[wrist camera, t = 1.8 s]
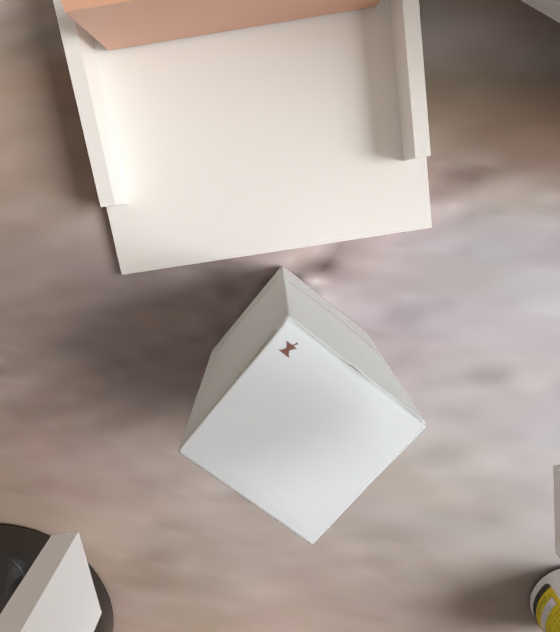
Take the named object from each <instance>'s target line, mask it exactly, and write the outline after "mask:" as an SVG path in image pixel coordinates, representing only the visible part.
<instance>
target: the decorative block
mask: <svg viewBox="0 0 560 632" xmlns="http://www.w3.org/2000/svg"><path fill="white" fill-rule="evenodd" d="M521 1H522V2H524V3H526V4H527V5H529V6H531V7H533V8H534V9H536V10H538V11H540V12H541V13H543V14H545V15H546V16H548V17H550V18H552V19H553V20H555V21H557V22H558V23H560V0H521Z"/></svg>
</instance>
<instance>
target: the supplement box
mask: <svg viewBox="0 0 560 632" xmlns="http://www.w3.org/2000/svg"><path fill="white" fill-rule="evenodd" d="M425 428H426V423H425V421H424V419H423V418H422V416H421V415H420V413H419V411H418V410H417V408H416V406H415V405H414V403H413V402H412V400H411V399H410V397H409V396H408V394H407V393H406V391H405V390H404V388H403V387H402V385H401V384H400V382H399V381H398V379H397V378H396V377H395V375H394V374H393V372H392V371H391V369H390V368H389V366H388V365H387V363H386V362H385V360H384V359H383V357H382V356H381V354H380V353H379V351H378V350H377V348H376V347H375V345H374V344H373V342H372V340H371V339H370V337H369V336H368V334H367V333H366V332H364V331H363V330H362V329H361V328H360V327H359V326H357V325H356V324H355V323H354V322H353V321H352V320H350V319H349V318H348V317H347V316H345V315H344V314H343V313H342V312H340V311H339V310H338V309H337V308H336V307H334V306H333V305H332V304H331V303H329V302H328V301H327V300H326V299H324V298H323V297H322V296H320V295H319V294H318V293H317V292H315V291H314V290H313V289H312V288H310V287H309V286H308V285H306V284H305V283H304V282H303V281H301V280H300V279H299V278H298V277H296V276H295V275H294V274H293V273H291V272H290V271H289V270H287V269H286V268H285V267H284V266H281V267H280V268H279V269H278V271H277V272H276V273H275V274H274V276H273V277H272V278H271V279H270V280H269V282H268V283H267V284H266V285H265V287H264V288H263V289H262V290H261V291H260V293H259V294H258V295H257V296H256V297H255V299H254V300H253V301H252V302H251V303H250V305H249V306H248V307H247V308H246V309H245V311H244V312H243V313H242V314H241V315H240V317H239V318H238V319H237V320H236V322H235V323H234V324H233V325H232V327H231V328H230V329H229V330H228V331H227V333H226V334H225V335H224V336H223V338H222V339H221V340H220V341H219V342H218V344H217V345H216V346H215V348H214V349H213V350H212V352H211V355H210V358H209V361H208V364H207V367H206V370H205V373H204V376H203V379H202V382H201V385H200V388H199V391H198V393H197V396H196V399H195V402H194V405H193V408H192V411H191V414H190V417H189V420H188V423H187V426H186V429H185V432H184V435H183V438H182V441H181V444H180V447H179V453H181V454H182V455H183V456H185V457H186V458H188V459H189V460H191V461H192V462H194V463H195V464H197V465H198V466H199V467H201V468H202V469H204V470H205V471H207V472H208V473H210V474H211V475H212V476H214V477H215V478H217V479H218V480H220V481H221V482H222V483H224V484H225V485H227V486H228V487H230V488H231V489H233V490H234V491H235V492H237V493H238V494H240V495H241V496H243V497H244V498H246V499H247V500H249V501H250V502H251V503H253V504H254V505H256V506H257V507H259V508H260V509H262V510H263V511H264V512H266V513H267V514H269V515H270V516H272V517H273V518H275V519H276V520H277V521H279V522H280V523H282V524H283V525H285V526H286V527H287V528H289V529H290V530H292V531H293V532H295V533H296V534H298V535H299V536H301V537H302V538H303V539H305V540H306V541H308V542H309V543H311V544H314V543H315V542H316V541H317V539H318V538H319V537H320V536H321V535H322V534H323V533H324V532H325V531H326V530H327V529H328V528H329V527H330V526H331V525H332V524H333V523H334V522H335V520H336V519H337V518H338V517H339V516H340V515H341V514H342V513H343V512H344V511H345V510H346V509H347V508H348V507H349V506H350V505H351V504H352V502H353V501H354V500H355V499H356V498H357V497H358V496H359V495H360V494H361V493H362V492H363V491H364V490H365V489H366V488H367V486H368V485H369V484H370V483H371V482H372V481H373V480H374V479H375V478H376V477H377V476H378V475H379V474H380V473H381V472H382V471H383V470H384V469H385V468H386V467H387V466H388V465H389V464H390V463H391V462H392V461H393V460H394V459H395V458H396V457H397V456H398V455H399V454H400V453H401V452H402V451H403V450H404V449H405V448H406V447H407V446H408V445H409V444H410V443H411V442H412V441H413V440H414V439H415V438H416V437H417V436H418V435H419V434H420V433H421V432H422V431H423V430H424V429H425Z"/></svg>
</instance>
